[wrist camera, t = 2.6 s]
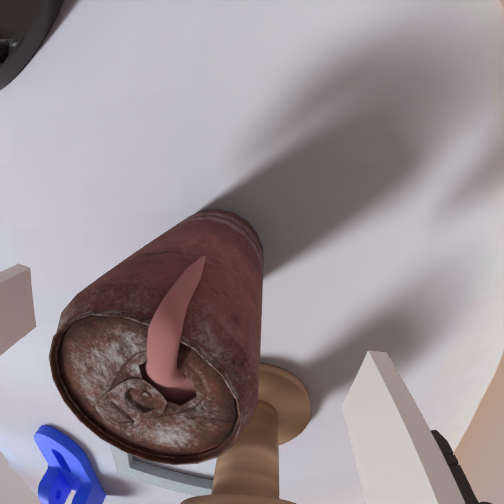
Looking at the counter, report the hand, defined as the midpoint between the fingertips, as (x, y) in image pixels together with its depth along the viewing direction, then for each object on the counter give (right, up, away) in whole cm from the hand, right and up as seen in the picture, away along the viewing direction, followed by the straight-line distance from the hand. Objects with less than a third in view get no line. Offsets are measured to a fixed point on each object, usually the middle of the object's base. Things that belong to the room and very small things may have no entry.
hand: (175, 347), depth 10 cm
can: (0, +3, +10) cm, 11 cm away
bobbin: (+3, -10, +14) cm, 17 cm away
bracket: (-25, -29, +21) cm, 43 cm away
